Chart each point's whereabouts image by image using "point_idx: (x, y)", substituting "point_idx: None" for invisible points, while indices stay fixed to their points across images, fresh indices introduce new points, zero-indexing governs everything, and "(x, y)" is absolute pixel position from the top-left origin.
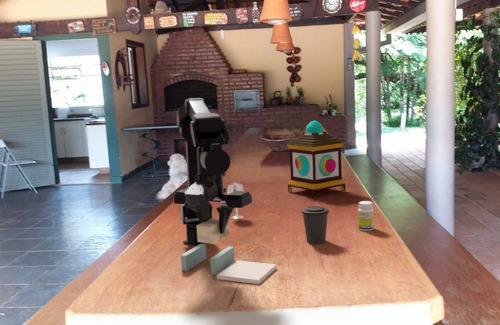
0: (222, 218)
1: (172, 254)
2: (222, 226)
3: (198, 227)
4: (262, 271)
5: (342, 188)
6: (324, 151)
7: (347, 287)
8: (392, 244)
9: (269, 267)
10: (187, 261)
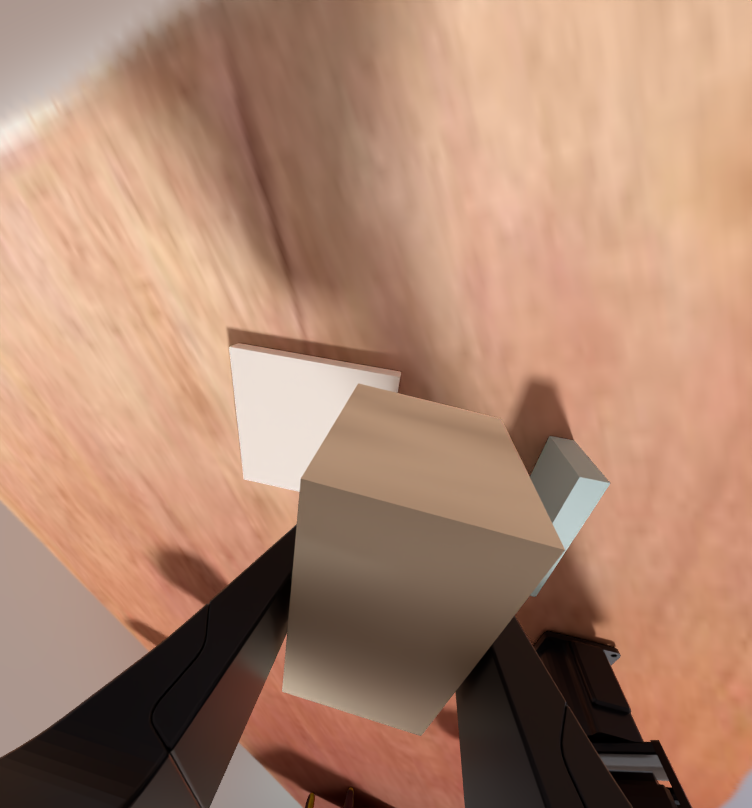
0: (173, 650)
1: (645, 576)
2: (261, 555)
3: (519, 514)
4: (255, 423)
5: (310, 803)
6: None
7: (13, 356)
8: (101, 591)
9: (250, 456)
10: (561, 465)
